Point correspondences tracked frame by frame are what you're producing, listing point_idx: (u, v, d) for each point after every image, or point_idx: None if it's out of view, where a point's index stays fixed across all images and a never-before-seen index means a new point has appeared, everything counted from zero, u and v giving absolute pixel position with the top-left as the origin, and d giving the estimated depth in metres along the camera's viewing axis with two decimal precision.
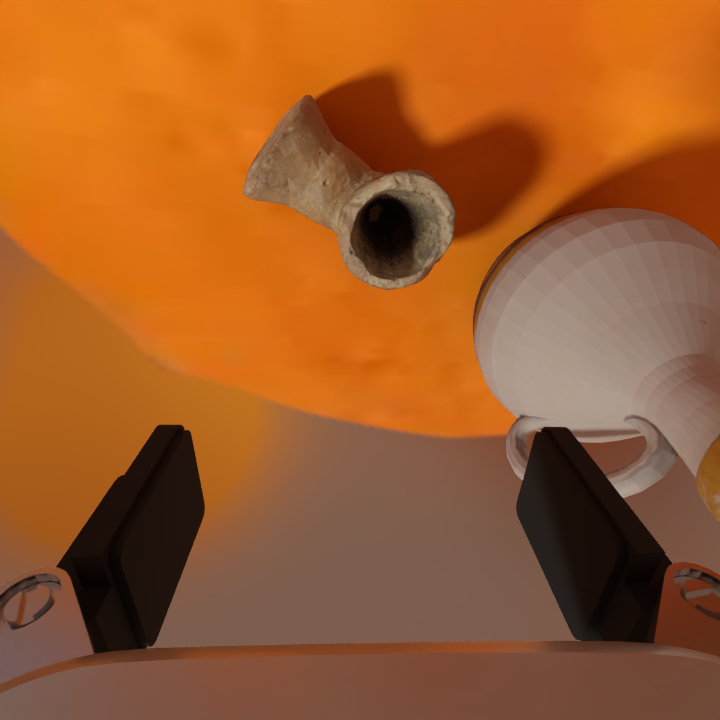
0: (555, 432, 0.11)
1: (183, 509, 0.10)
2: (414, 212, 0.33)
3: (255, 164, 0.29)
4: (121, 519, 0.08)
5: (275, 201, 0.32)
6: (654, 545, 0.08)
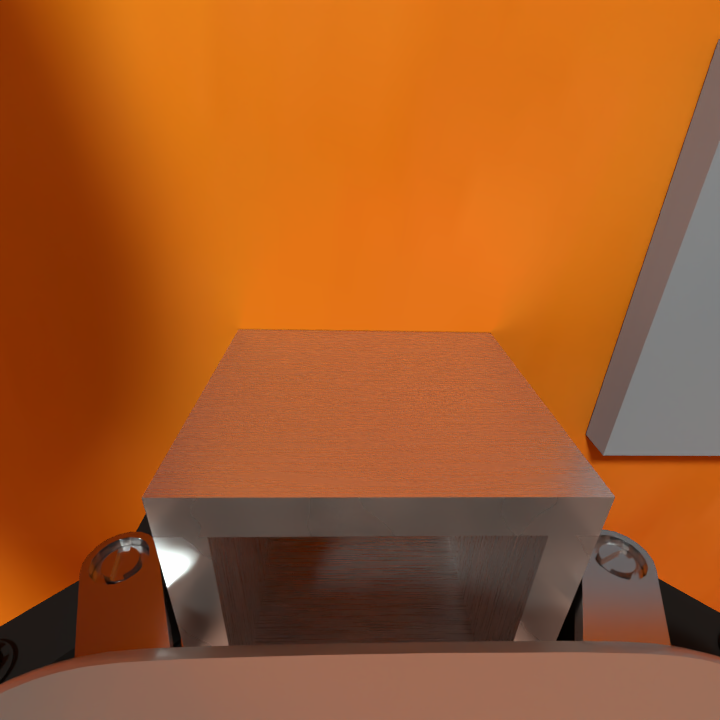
0: None
1: None
2: None
3: None
4: None
5: None
6: None
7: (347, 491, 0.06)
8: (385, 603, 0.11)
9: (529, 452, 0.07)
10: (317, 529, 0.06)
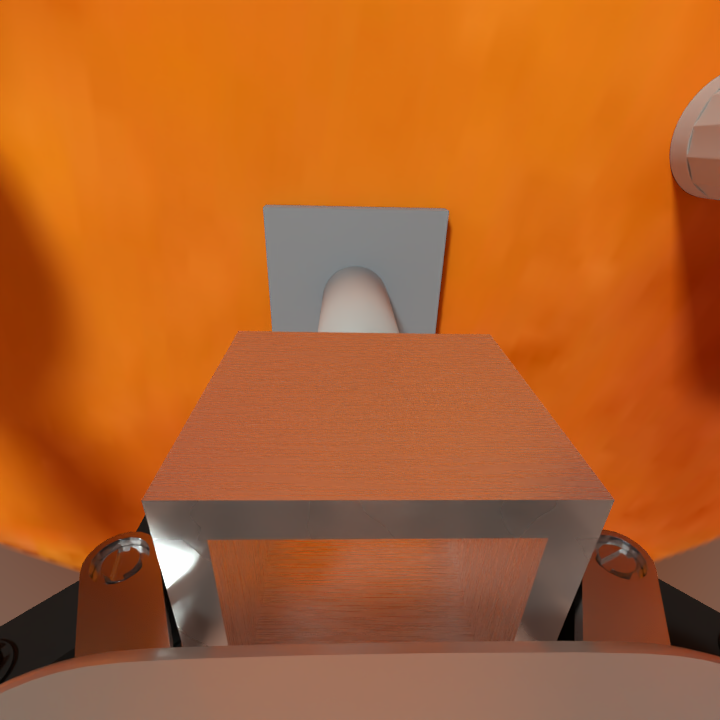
0: None
1: None
2: None
3: None
4: None
5: None
6: None
7: (347, 494, 0.06)
8: (385, 604, 0.11)
9: (528, 454, 0.07)
10: (317, 532, 0.06)
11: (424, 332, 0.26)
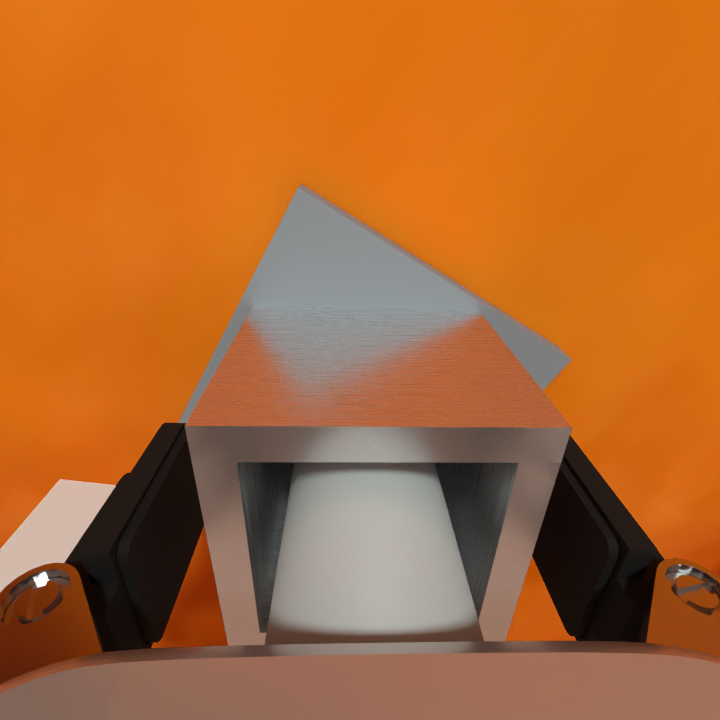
0: None
1: (188, 507, 0.10)
2: None
3: None
4: (128, 516, 0.08)
5: None
6: (646, 541, 0.08)
7: (352, 422, 0.07)
8: None
9: (504, 397, 0.08)
10: (327, 455, 0.08)
11: None
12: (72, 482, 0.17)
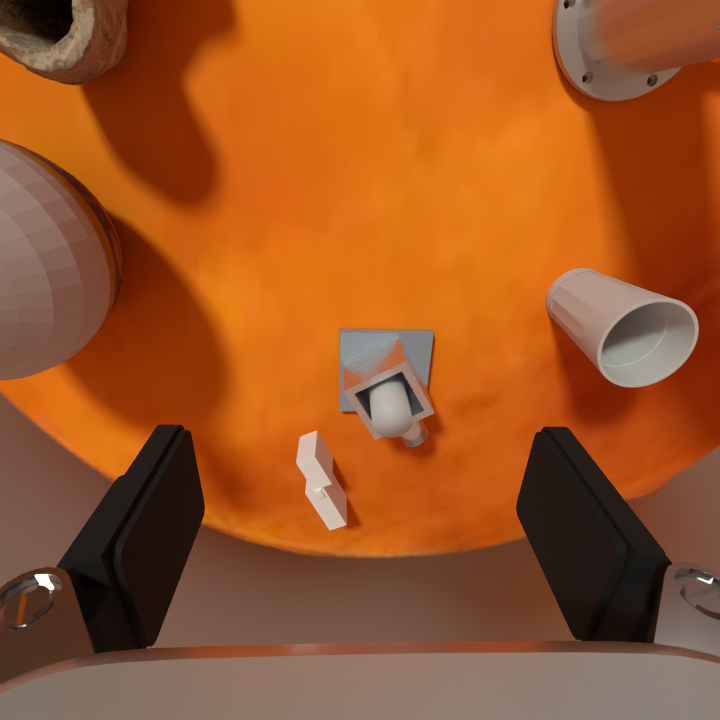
0: (555, 432, 0.11)
1: (183, 509, 0.10)
2: None
3: None
4: (121, 519, 0.08)
5: None
6: (654, 545, 0.08)
7: (369, 378, 0.41)
8: None
9: (396, 360, 0.41)
10: (368, 385, 0.41)
11: None
12: (304, 435, 0.52)
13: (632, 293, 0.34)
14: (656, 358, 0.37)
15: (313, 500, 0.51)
